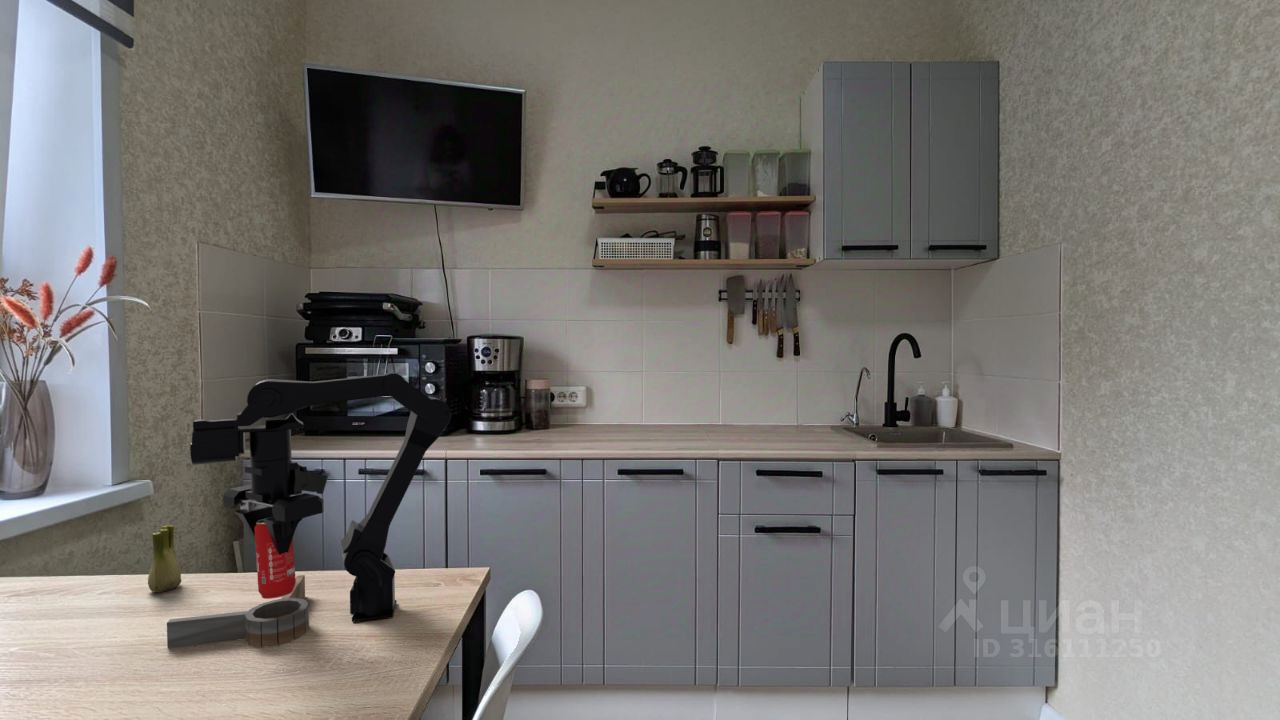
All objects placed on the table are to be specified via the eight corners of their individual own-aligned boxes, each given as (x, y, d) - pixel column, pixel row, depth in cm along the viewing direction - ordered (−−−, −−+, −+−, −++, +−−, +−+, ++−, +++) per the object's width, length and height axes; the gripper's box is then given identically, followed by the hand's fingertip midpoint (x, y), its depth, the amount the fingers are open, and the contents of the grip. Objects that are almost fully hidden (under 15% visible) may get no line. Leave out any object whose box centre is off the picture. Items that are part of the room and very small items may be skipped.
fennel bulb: (158, 597, 115) (156, 532, 114) (138, 594, 116) (137, 530, 115) (189, 585, 120) (187, 523, 120) (169, 582, 121) (168, 521, 121)
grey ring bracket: (300, 642, 97) (300, 617, 97) (155, 660, 92) (155, 633, 92) (327, 594, 116) (326, 572, 115) (208, 606, 110) (207, 584, 110)
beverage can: (277, 600, 97) (272, 523, 97) (251, 599, 98) (246, 523, 98) (303, 588, 102) (299, 515, 102) (277, 587, 103) (273, 515, 103)
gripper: (353, 454, 102) (355, 548, 102) (287, 445, 111) (290, 531, 112) (285, 467, 92) (288, 570, 93) (219, 456, 102) (223, 550, 102)
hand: (274, 554), depth 100 cm, fingers closed on beverage can, 5 cm apart
